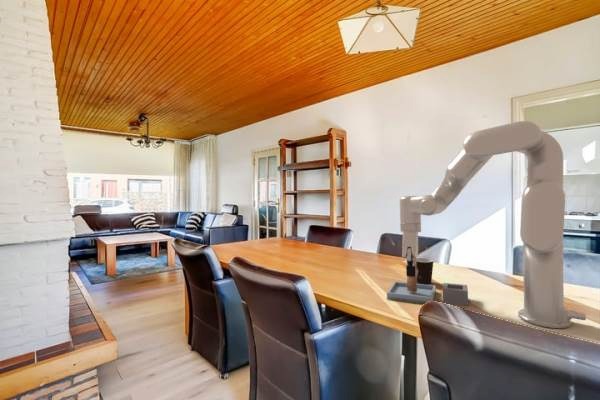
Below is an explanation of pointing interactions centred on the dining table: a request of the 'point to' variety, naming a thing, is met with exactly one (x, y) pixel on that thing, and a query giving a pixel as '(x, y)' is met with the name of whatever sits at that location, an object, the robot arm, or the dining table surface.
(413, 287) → the dowel
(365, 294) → the dining table surface
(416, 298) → the tray
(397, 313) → the dining table surface
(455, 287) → the socket block
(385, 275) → the dining table surface
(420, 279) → the coffee mug
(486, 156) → the robot arm
